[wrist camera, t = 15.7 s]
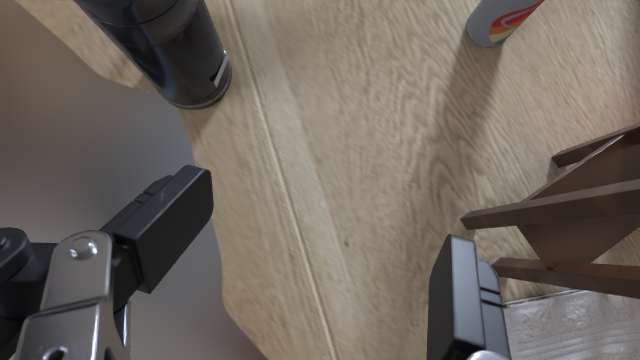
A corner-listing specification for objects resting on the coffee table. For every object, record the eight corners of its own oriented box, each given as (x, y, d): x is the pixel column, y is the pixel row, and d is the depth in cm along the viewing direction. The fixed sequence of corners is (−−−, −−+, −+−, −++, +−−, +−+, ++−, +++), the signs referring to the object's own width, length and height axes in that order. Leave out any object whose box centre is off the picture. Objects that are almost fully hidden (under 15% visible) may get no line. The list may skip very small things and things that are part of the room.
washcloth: (659, 381, 41) (687, 392, 38) (511, 415, 40) (528, 429, 37) (626, 275, 43) (650, 278, 40) (483, 305, 42) (497, 309, 39)
